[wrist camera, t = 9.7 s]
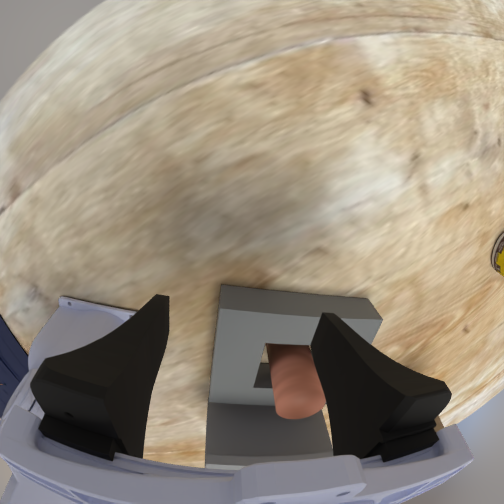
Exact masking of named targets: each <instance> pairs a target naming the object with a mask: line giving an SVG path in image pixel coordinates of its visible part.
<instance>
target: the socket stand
mask: <svg viewBox="0 0 504 504" xmlns="http://www.w3.org/2000/svg"><path fill="white" fill-rule="evenodd" d="M322 312H326V313H334V314H336V315H337V316H338V317H339V318H341V319H342V320H343V321H344V322H345V323H346V324H347V325H349V326H350V327H351V328H352V329H353V330H354V331H355V332H356V333H358V334H359V335H360V336H361V337H362V338H363V339H365V340H366V341H367V342H368V343H370V344H371V343H372V342H373V340H374V338H375V336H376V333H377V331H378V329H379V327H380V325H381V323H382V321H383V319H382V317H381V316H380V315H379V313H378V312H377V310H376V309H375V308H374V306H373V305H372V303H371V302H370V301H369V299H366V298H352V297H339V296H327V295H316V294H305V293H294V292H284V291H274V290H265V289H255V288H246V287H238V286H229V285H221V291H220V299H219V307H218V315H217V323H216V331H215V340H214V349H213V357H212V366H211V376H210V391H209V398H208V407H207V426H206V447H205V468H208V469H222V470H240V469H241V468H243V467H245V466H249V465H252V464H256V463H265V462H277V461H295V460H307V459H317V458H325V457H333V448H332V445H331V441H330V437H329V434H328V430H327V427H326V423H325V420H324V416H323V413H322V409H321V410H320V411H319V412H317V413H315V414H314V415H311V416H309V417H306V418H302V419H286V418H282V417H280V416H279V415H278V414H277V412H276V407H275V401H274V394H273V387H272V381H271V374H270V367H269V364H268V363H260V361H261V357H262V354H263V350H264V346H265V343H274V344H292V345H311V342H312V339H313V336H314V334H315V331H316V328H317V326H318V323H319V320H320V317H321V314H322ZM311 355H312V350H311ZM312 358H313V356H312ZM323 393H324V392H323ZM324 396H325V395H324ZM325 404H327V403H325Z"/></svg>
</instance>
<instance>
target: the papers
mask: <svg viewBox="0 0 504 504" xmlns="http://www.w3.org/2000/svg"><path fill="white" fill-rule="evenodd" d="M28 372H29V367H28V356H27V355H26V353H25V352H24V351H23V349H22V348H21V347H20V345H19V344H18V342H17V341H16V340H15V338H14V337H13V335H12V334H11V332H10V331H9V329H8V328H7V326H6V325H5V323H4V321H3V320H2V318H1V317H0V418H2V416H3V412H4V410H5V408H6V406H7V404H8V402H9V400H10V398H11V396H12V395H13V393H14V391H15V390H16V388H17V387H18V385H19V384H20V382H21V381H22V379H23V378H24V377H25V375H26V374H27V373H28Z"/></svg>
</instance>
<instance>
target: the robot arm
mask: <svg viewBox="0 0 504 504" xmlns="http://www.w3.org/2000/svg"><path fill="white" fill-rule="evenodd" d="M59 305H60V306H59V307H58V309H57V310H56V311H55V312H54V314H53V315H52V316H51V318H50V319H49V320H48V321H47V323H46V324H45V325H44V327H43V328H42V329H41V331H40V332H39V333H38V335H37V336H36V337H35V339H34V341H33V343H32V345H31V348H30V351H29V357H28V367H29V372H28V373H27V374H26V375H25V377H24V378H23V379H22V381H21V382H20V384H19V385H18V387H17V388H16V390H15V391H14V393H13V395H12V396H11V398H10V400H9V402H8V404H7V406H6V408H5V410H4V412H3V416H2V418H1V420H0V457H1V458H2V459H3V460H4V461H6V462H7V464H8V466H9V467H10V469H11V471H12V476H11V478H10V480H9V482H8V484H7V486H6V489H5V491H4V493H3V496H2V498H1V500H0V504H399V503H402V502H404V501H407V500H409V499H411V498H413V497H415V496H418V495H420V494H422V493H424V492H426V491H428V490H430V489H432V488H434V487H436V486H438V485H440V484H442V483H443V482H445V481H446V480H448V479H449V478H451V477H452V476H453V475H455V474H456V473H457V472H459V471H460V470H461V469H463V468H464V467H465V466H467V465H468V464H469V463H470V462H471V461H473V460H474V457H473V454H472V453H471V451H470V449H469V447H468V445H467V443H466V441H465V440H464V438H463V436H462V434H461V432H460V431H459V429H458V427H457V425H456V424H453V425H450V426H448V427H445V428H442V429H440V430H439V431H437V432H435V430H434V428H435V427H436V425H437V424H436V422H435V420H434V419H435V418H436V417H437V416H438V415H439V414H440V413H441V412H442V410H443V409H444V408H445V407H446V406H447V404H448V403H449V401H450V399H451V395H452V393H451V391H450V390H449V388H448V387H447V385H446V384H445V382H444V381H441V380H438V379H434V378H431V377H428V376H425V375H423V374H420V373H418V372H415V371H413V370H411V369H409V368H407V367H405V366H403V365H401V364H399V363H397V362H396V361H394V360H392V359H391V358H389V357H388V356H386V355H384V354H383V353H381V352H380V351H379V350H377V349H376V348H375V347H373V346H372V345H371V344H370V343H368V342H367V341H366V340H365V339H363V338H362V337H361V336H360V335H359V334H358V333H356V332H355V331H354V330H353V329H352V328H351V327H350V326H349V325H347V324H346V323H345V322H344V321H343V320H342V319H341V318H339V317H338V316H337V315H336V314H334V313H326V312H322V314H321V317H320V320H319V323H318V326H317V328H316V331H315V334H314V336H313V339H312V342H311V350H312V356H313V361H314V365H315V368H316V371H317V374H318V377H319V380H320V383H321V386H322V389H323V392H324V395H325V399H326V403H327V408H328V413H329V419H330V426H331V434H332V444H333V457H325V458H317V459H307V460H295V461H277V462H265V463H256V464H252V465H249V466H245V467H243V468H241V469H240V470H222V469H208V468H197V467H189V466H181V465H174V464H168V463H162V462H156V461H151V460H146V459H143V449H144V440H145V431H146V424H147V417H148V411H149V405H150V399H151V394H152V390H153V386H154V383H155V380H156V377H157V374H158V371H159V368H160V365H161V362H162V358H163V355H164V352H165V349H166V345H167V340H168V335H169V296H165V295H158V294H156V295H155V296H154V297H153V298H152V299H151V300H150V301H148V302H147V303H146V304H145V305H144V306H143V307H142V308H141V309H140V310H139V311H138V312H135V311H130V310H124V309H119V308H114V307H109V306H104V305H99V304H94V303H90V302H85V301H81V300H76V299H72V298H68V297H63V296H61V297H60V298H59ZM131 315H132V317H131Z"/></svg>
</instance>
